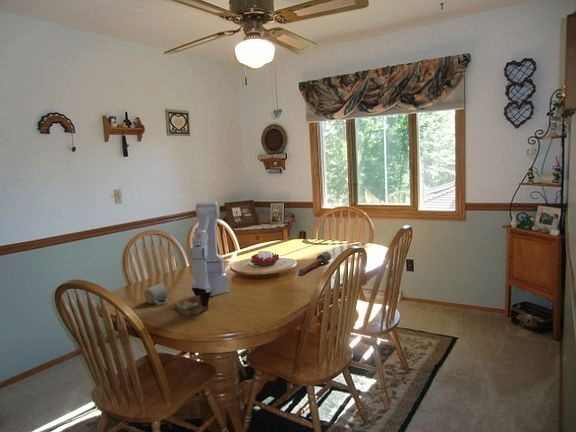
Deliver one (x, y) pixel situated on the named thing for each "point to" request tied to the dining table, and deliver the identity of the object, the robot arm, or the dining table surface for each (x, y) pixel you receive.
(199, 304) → the block with upright post
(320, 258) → the mallet
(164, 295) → the ceramic mug
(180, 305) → the board
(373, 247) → the dining table surface
